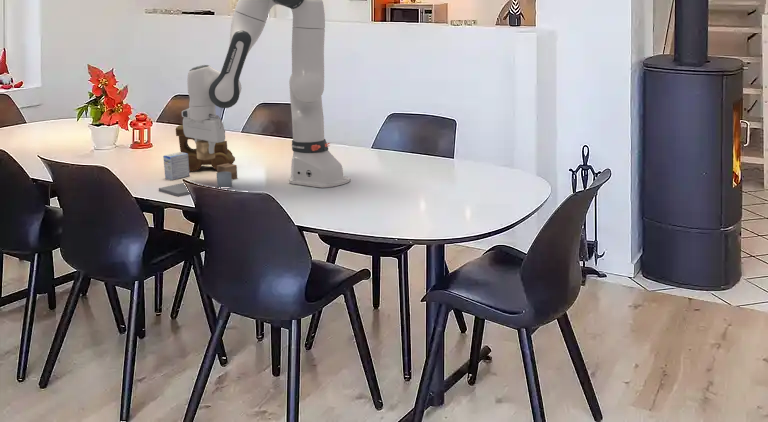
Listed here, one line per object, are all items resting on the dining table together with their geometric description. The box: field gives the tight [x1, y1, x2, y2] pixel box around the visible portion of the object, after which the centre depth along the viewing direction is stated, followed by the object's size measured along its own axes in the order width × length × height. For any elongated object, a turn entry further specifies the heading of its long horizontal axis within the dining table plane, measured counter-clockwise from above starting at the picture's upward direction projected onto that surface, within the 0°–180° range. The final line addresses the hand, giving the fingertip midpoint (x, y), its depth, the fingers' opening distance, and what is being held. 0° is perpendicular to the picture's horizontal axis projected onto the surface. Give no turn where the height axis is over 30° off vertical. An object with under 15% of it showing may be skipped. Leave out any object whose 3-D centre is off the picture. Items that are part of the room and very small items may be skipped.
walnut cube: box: [216, 163, 238, 180], centre depth 313 cm, size 5×5×5 cm
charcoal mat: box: [158, 182, 190, 197], centre depth 297 cm, size 12×11×1 cm
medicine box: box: [163, 151, 190, 181], centre depth 316 cm, size 8×4×9 cm, turn 141°
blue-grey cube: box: [216, 172, 233, 188], centre depth 300 cm, size 5×5×5 cm
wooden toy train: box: [175, 124, 236, 173], centre depth 329 cm, size 20×11×17 cm, turn 91°
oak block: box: [195, 140, 215, 160], centre depth 305 cm, size 4×4×6 cm
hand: (205, 152), depth 305 cm, fingers closed on oak block, 4 cm apart
